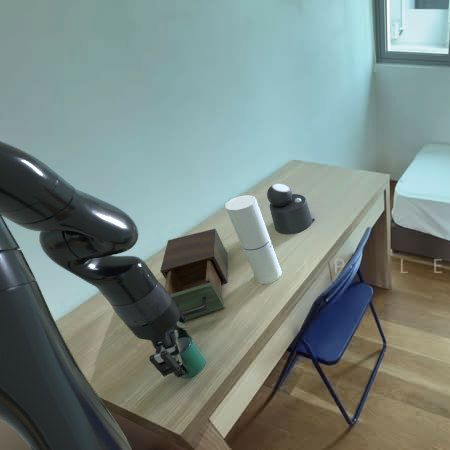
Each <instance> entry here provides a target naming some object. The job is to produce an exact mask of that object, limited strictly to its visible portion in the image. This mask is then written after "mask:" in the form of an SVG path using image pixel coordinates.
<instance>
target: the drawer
mask: <svg viewBox="0 0 450 450" xmlns="http://www.w3.org/2000/svg"><path fill="white" fill-rule="evenodd" d="M164 288H165V289H166V291H167V292H168V294H169V295H170V297H171V298H172V300H173V301H174V302H175V304H176V305H177V306H178V308H179V309H180V311H181V312H182V314H183V315H184V317H185V318H186V321H187V320H189V319H193V318H196V317H199V316H202V315H205V314H208V313H211V312H214V311H217V310H220V309H224V308H225V303H224V302H223V300H222V297H221V296H222V295H221V294H222V284H221V276H220V274H219V272H218V270H217V268H216V266H215V264H214V262H213V260H212V259H210V260H207V261H203V262H199V263H196V264H192V265H189V266H185V267H182V268H178V269H174V270H171V271H168V274H167V279H165V284H164Z"/></svg>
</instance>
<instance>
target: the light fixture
mask: <svg viewBox="0 0 450 450" xmlns="http://www.w3.org/2000/svg"><path fill="white" fill-rule="evenodd" d="M266 198H267V200H268V202H269V210H270V215H271V218H272V222H273V226H274V230H275V231H276V232H277V233H279V234H282V235H294V234H298V233H301V232H303V231H305V230H307V229H308V228H309V227H311V225H312V224H313V222H314V221H316V219H315V218H313V217H312V214H311V210H310V207H309V204H308V201H307V198H306V196H304V195H302V194H298V193H293V191H292V190H291V188H290V187H289V186H288V185H286V184H283V183H273V184H272V185H271V186H269V187H268V189H267V191H266Z"/></svg>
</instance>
